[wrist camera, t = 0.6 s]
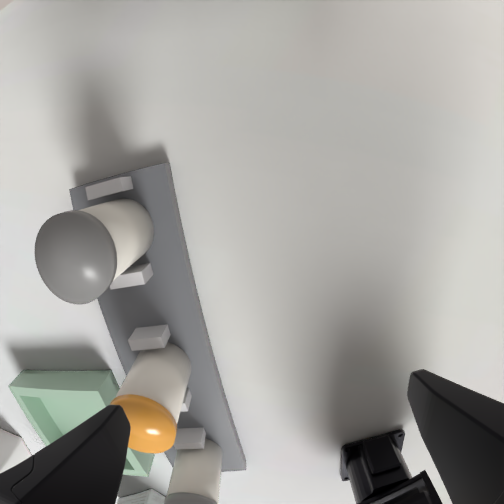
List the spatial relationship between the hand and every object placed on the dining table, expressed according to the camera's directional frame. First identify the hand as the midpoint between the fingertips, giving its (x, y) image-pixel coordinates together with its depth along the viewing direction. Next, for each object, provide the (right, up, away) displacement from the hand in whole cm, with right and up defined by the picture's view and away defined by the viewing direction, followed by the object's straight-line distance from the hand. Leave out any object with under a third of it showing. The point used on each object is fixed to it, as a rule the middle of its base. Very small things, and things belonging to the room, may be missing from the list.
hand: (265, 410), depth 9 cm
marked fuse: (-7, -4, +13) cm, 15 cm away
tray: (-16, -11, +16) cm, 26 cm away
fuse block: (-7, -3, +14) cm, 16 cm away
